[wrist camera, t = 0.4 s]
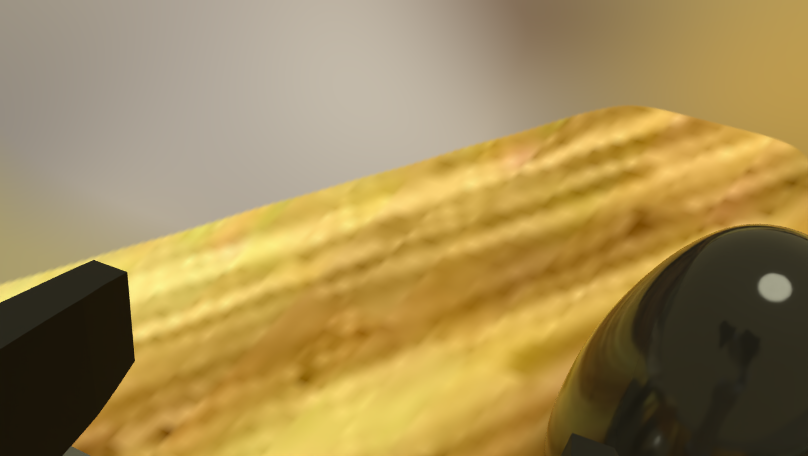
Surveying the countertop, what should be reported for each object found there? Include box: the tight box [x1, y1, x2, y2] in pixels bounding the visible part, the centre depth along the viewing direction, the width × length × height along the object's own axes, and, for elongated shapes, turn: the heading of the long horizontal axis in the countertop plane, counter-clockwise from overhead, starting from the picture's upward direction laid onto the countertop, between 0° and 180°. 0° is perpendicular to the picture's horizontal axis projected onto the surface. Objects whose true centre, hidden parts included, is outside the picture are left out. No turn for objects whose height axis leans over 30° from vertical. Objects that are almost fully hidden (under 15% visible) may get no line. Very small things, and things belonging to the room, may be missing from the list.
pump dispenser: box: [545, 224, 808, 456], centre depth 24 cm, size 10×10×15 cm
